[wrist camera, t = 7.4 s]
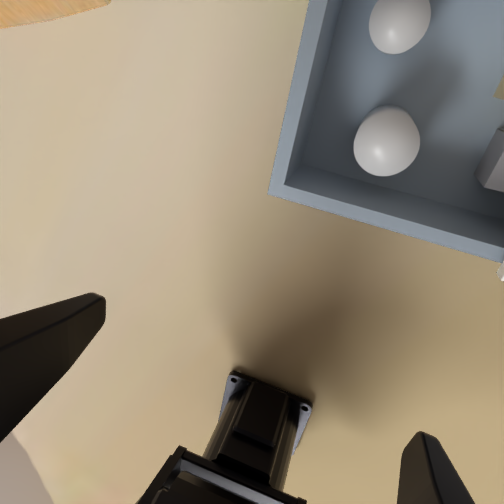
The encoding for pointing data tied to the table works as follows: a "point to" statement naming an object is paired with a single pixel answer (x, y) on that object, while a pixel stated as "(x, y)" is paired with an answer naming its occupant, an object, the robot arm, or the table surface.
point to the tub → (400, 119)
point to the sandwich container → (42, 10)
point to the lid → (501, 272)
